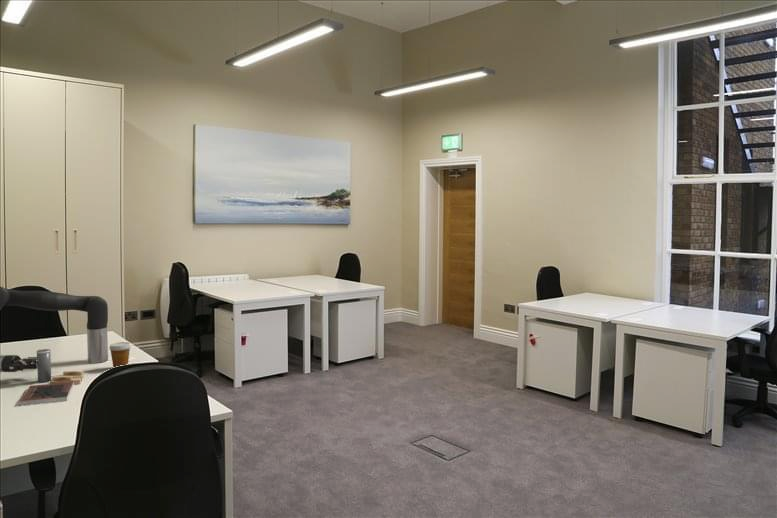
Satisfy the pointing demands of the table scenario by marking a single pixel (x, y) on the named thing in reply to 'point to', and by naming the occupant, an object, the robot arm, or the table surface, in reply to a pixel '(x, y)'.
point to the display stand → (69, 377)
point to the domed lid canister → (44, 365)
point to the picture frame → (47, 393)
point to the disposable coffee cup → (120, 353)
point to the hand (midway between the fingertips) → (42, 363)
